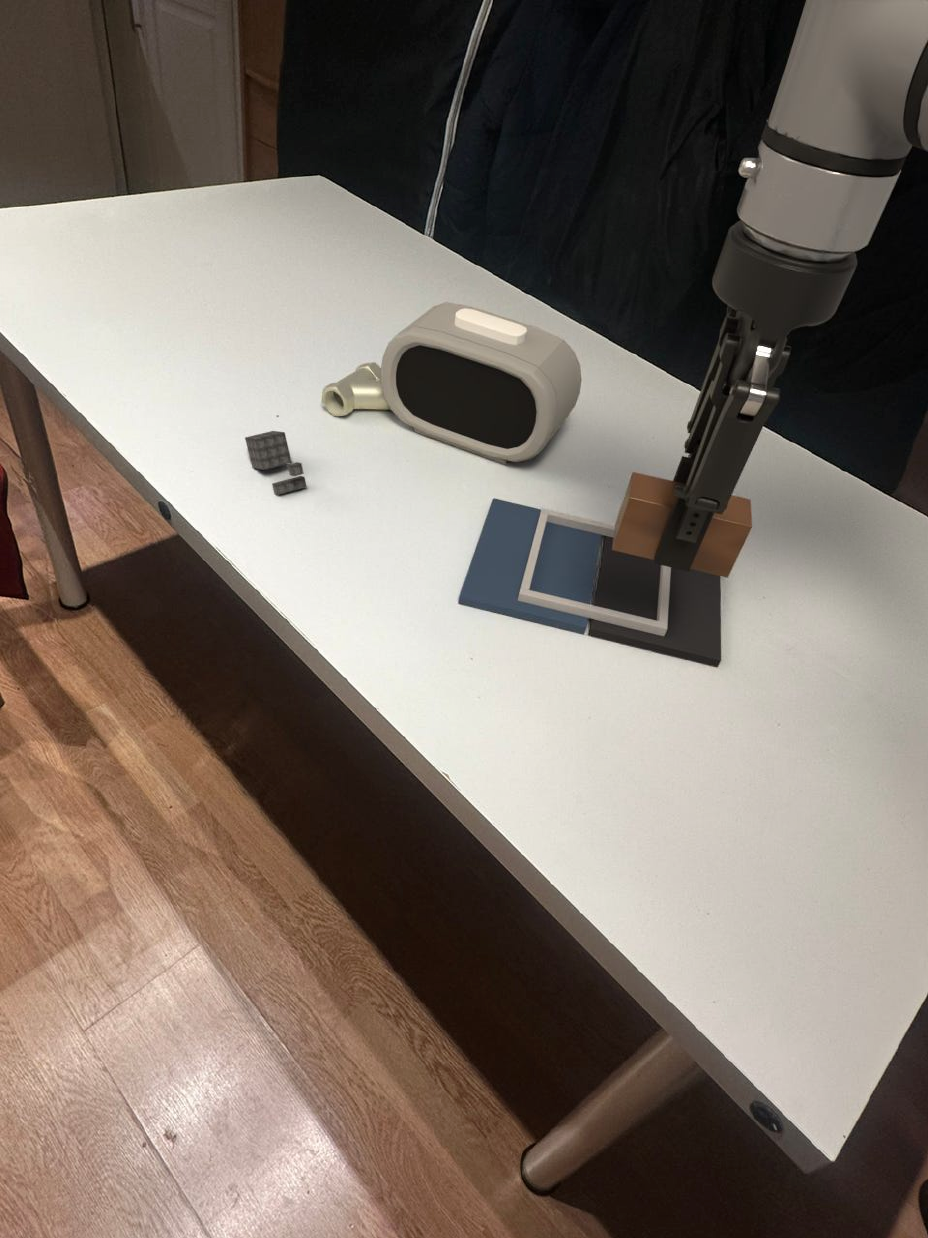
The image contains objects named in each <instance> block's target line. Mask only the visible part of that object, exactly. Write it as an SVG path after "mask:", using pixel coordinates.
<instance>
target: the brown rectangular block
mask: <svg viewBox="0 0 928 1238" xmlns="http://www.w3.org/2000/svg"><path fill="white" fill-rule="evenodd" d="M674 485H680V486H686V484H683V483H679V482H674V481H673V480H670V479H665V478H661V477H657V476H652V475H649V474H644V473H640V472H637V471H632V472H631V475H630V478H629V481H628V484H627V488H626V490H625V493H624V496H623V499H622V501H621V505H620V508H619V511H618V515H617V518H616V519H615V523H614V525H615V529H614V537H613V544H612V550H615V551H619V552H623V553H627V554H631V555H635V556H640V557H644V558H648V559H652V560H654V557H655V554H656V551H657V549H658V546H659V543H660V541H661V538H662V536H663V533H664V530H665V528H666V525H667V523H668V520H669V517H670V515H671V512H672V509H673V506H674V504H675V501H676V499H677V497H673V496H672V493H673V488H674ZM751 503H752V501H751V499H749V498H746V497H742V496H738V495H733V494H732V495H731V497H730V499H729V502H728V505H727V508H726V510H724V513H723V514H717V513H714V514H713V517H712V519H711V521H710V524H709V526H708V529H707V531H706V533H705V536H704V538H703V540H702V543H701V545H700V547H699V550H698V552H697V554H696V557H695V559H694V561H693V564H692V566H691V568H690V569H693V570H697V571H701V572H706V573H710V574H714V575H718V576H721V577H723V578H729V576H730V574H731V572H732V570H733V568H734V566H735V564H736V562H737V560H738V557H739V555H740V553H741V551H742V549H743V547H744V545H745V543H746V541H747V539H748V537H749V535H750V533H751V530H752V529H753V515H752V504H751Z"/></svg>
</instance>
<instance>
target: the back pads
mask: <svg viewBox="0 0 928 1238" xmlns="http://www.w3.org/2000/svg"><path fill="white" fill-rule="evenodd" d="M481 529H482V530H481V532H480V535H479V538H478V541H477V544H476V547H475V549H474V552H473V556H472V558H471V560H470V561H471V562H470V564H469V566H468V567H469V568H468V570H467V572H466V576H465V578H464V581H463V584H462V588H461V590H460V593H459V596H458V604H459V605H462V606H467V607H469V608H474V609H479V610H483V611H487V612H490V613H495V614H499V615H502V616H507V617H511V618H515V619H520V620H524V621H527V622H532V623H536V624H538V625H539V624H540V625H543V626H547V627H552V628H556V629H559V630H564V631H569V632H573V633H576V634H581V635H585V633H586V630H587V628H588V627H587V626H588V620H589V619H590V625H589V631H588V637H592V638H595V639H600V640H605V641H609V642H612V643H616V644H621V645H625V646H629V647H634V648H638V649H641V650H644V651H649V652H654V653H657V654H661V655H665V656H670V657H673V658H677V659H682V660H686V661H690V662H693V663H699V664H702V665H707V666H710V667H714V668H718V667H719V666H720V664H721V662H722V596H721V595H722V593H721V592H722V589H721V587H722V585H721V583H722V581H721V580H722V579H721V577H722V576H718V575H714V574H710V573H706V572H701V571H697V570H693V569H690V571H689V572H688V571H684V570H680V569H676V568H672V567H667V566H663V565H659V564H655V563H654V560H652V559H648V558H644V557H640V556H635V555H631V554H627V553H623V552H619V551H615V550H612V544H613V537H614V529H615V524H611V523H608V522H607V523H606V522H602V521H599V520H594V519H590V518H585V517H581V516H577V515H572V514H569V513H563V512H560V511H555V510H552V509H548V508H544V507H543V508H537V507H533V506H529V505H525V504H520V503H516V502H512V501H508V500H503V499H499V498H495V497H494V498H492V501H491V504H490V506H489V509H488V512H487V515H486V518H485V520H484V524H483V527H482V528H481ZM602 536H604V539H603V544H602V550H601V555H599V554H600V549H601V543H602ZM599 556H601V557H600V563H599V569H598V575H597V581H596V587H595V594H594V600H593V604H591V602H592V596H593V590H594V585H595V579H596V572H597V567H598V561H599Z"/></svg>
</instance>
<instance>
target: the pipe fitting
mask: <svg viewBox="0 0 928 1238" xmlns="http://www.w3.org/2000/svg"><path fill="white" fill-rule="evenodd" d="M321 403H322V405H323V407H324V408H325V409H326V410H327V412H328V413H329V414H330V415H332V416H333V417H343V416H347V415H348V414H350V413H351V412H353V411H354V410H384V411H385V410H387V411H389V410H390V411H392V410H391V409H390V407H389V405H388V403H387V401H386V399H385V397H384V393H383V389H382V385H381V366H380V365H379V364H377V363H376V362H374V361H373V362H365V363H361V364H360V365H358V366H357V367H355V370H354V371H353V372H351V373H349V374H348V375H347V376H345V377H343V378H342V379H340V380H338V381H337V382H331V383H329V384H327V385H325V386H324V387H323V388H322V392H321Z"/></svg>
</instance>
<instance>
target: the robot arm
mask: <svg viewBox="0 0 928 1238" xmlns="http://www.w3.org/2000/svg"><path fill="white" fill-rule="evenodd" d="M788 55H789V56H788V58H787V62H786V65H785V68H784V70H783V71H784V72H783V74H782V77H781V80H780V83H779V85H778V90H777V93H776V96H775V99H774V102H773V105H772V108H771V110H770V111H771V112H770V114H769V116H768V119H766V123H765V126H764V129H763V131H762V135H761V138H760V141H759V143H758V146H757V151H758V156H757V157H744V158H743V159H742V160H741V161H740V164H739V167H738V174H739V175H740V176H741V177H743V178H746V179H747V180H746V182H745V185H744V186H743V189H742V193H741V196H740V199H739V202H738V205H737V206H736V213H737V216H738V218H739V219H740V220H739V221H738V220H737V222H735V223H734V224H733V225H731V226H730V227H729V228H728V231H727V234H726V237H725V239H724V242H723V246H722V248H721V252H720V255H719V258H718V260H717V263H716V266H715V269H714V272H713V275H712V279H711V285H712V289H713V291H714V293H715V294H716V296H717V297H718V298H719V300H720V301H722V302H723V303H724V304H726V305H727V306H726V315H725V317H724V319H723V322H722V324H721V327H720V330H719V337H718V341H717V344H716V347H715V349H714V353H713V355H712V358H711V361H710V363H709V367H708V369H707V372H706V375H705V378H704V381H703V383H702V386H701V389H700V392H699V395H698V398H697V400H696V403H695V406H694V409H693V412H692V414H691V417H690V420H689V421H688V422H687V425H686V430H687V431H686V433H687V434H688V438H686V439H685V442H684V445H683V449H684V454H688V456H684V455H681V458H680V461H679V463H678V466H677V468H676V471H675V474H674V477H673V479H672V481H674V482H679V483H683V484H686V486H680V485H674V488H673V493H672V496H673V497H677V499H676V501H675V504H674V506H673V509H672V512H671V515H670V517H669V520H668V523H667V525H666V528H665V530H664V533H663V536H662V538H661V541H660V543H659V546H658V549H657V551H656V554H655V557H654V563H655V564H659V565H663V566H667V567H672V568H676V569H680V570H684V571H688V572H689V571H690V568H691V566H692V564H693V561H694V559H695V557H696V554H697V552H698V550H699V547H700V545H701V543H702V540H703V538H704V536H705V533H706V531H707V529H708V526H709V524H710V521H711V519H712V517H713V514H714V513H717V514H723V513H724V510H726V508H727V505H728V502H729V499H730V497H731V495H733V493H734V491H735V488H736V487H737V485H738V482H739V480H740V477H741V476H742V473H743V471H744V469H745V467H746V464H747V463H748V460H749V458H750V456H751V453H752V451H753V450H754V447H755V445H756V443H757V441H758V439H759V438H760V437H759V436H760V434H761V432H762V430H763V428H764V426H765V424H766V423H767V421H768V419H769V417H770V416H771V414H772V413H773V411H774V410H775V408H776V406H777V405H778V404H779V402H780V399H781V390H780V388H778V387H774V386H775V383H776V380H777V379H778V377H779V376H781V375H782V374H783V373H784V371H785V370H786V369H785V368H786V367H787V364H788V361H789V358H790V355H791V351H792V347H791V346H790V345H786V343H787V341H788V336H789V334H790V332H791V331H793V330H796V329H798V328H801V327H806V326H807V327H815V326H819V325H822V324H824V323H826V322H828V321H829V320H831V318H832V317H834V315H835V314H836V312H837V311H838V307H839V306H840V304H841V301H842V299H843V297H844V294H845V292H846V290H847V288H848V286H849V284H850V282H851V279H852V277H853V275H854V273H855V270H856V269H857V266H858V263H859V262H858V258H857V253H856V252H858V251H860V250H861V249H863V248H865V247H867V246H869V242H870V241H871V239H872V236H873V234H874V232H875V230H876V227H877V225H878V223H879V221H880V218H881V216H882V214H883V212H884V210H885V208H886V205H887V203H888V201H889V199H890V197H891V195H892V192H893V190H894V188H895V186H896V183H897V181H898V179H899V177H900V174H901V173H902V168H903V166H904V163H905V161H906V159H907V157H908V156H909V155H908V154H909V153H910V151H911V149H912V147H915V148H916V149H920V150H922V151H925V152H928V0H805V3H804V6H803V10H802V13H801V16H800V19H799V23H798V26H797V29H796V33H795V36H794V39H793V43H792V46H791V48H790V52H789V54H788Z"/></svg>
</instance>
